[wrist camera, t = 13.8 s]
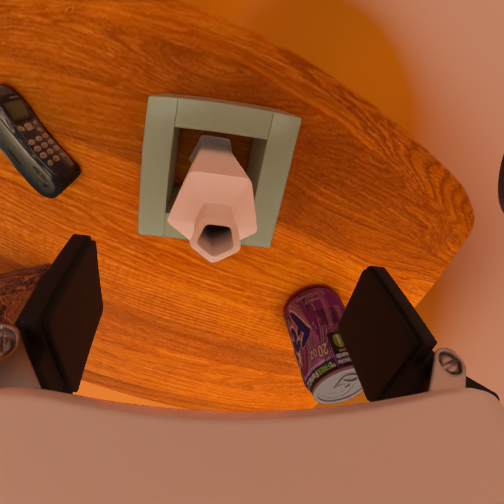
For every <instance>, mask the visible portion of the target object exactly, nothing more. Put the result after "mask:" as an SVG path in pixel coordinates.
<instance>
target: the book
mask: <svg viewBox="0 0 504 504" xmlns="http://www.w3.org/2000/svg"><path fill="white" fill-rule="evenodd" d="M50 267H51V264H45V265H41V266H36V267H32V268H27V269H23V270H19V271H14V272H10V273H6V274H1V275H0V322H7V323H10V324H13V325H14V323H15V321H16V319H17V318H18V316H19V314H20V312H21V311H22V309H23V307H24V306H25V304H26V302H27V300H28V299H29V297H30V296H31V294H32V292H33V291H34V289H35V287H36V286H37V284H38V283H39V281H40V280H41V278H42V277H43V275H44V274H45V273H46V271H48V270H49V268H50Z"/></svg>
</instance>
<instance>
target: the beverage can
mask: <svg viewBox="0 0 504 504" xmlns="http://www.w3.org/2000/svg"><path fill="white" fill-rule="evenodd" d="M344 311H345V307H344V305H343V303H342V301H341V299H340V297H339V296H338V294H337V293H336V292H334V291H333V290H330V289H327V288H314V289H310V290H307V291H304V292H302V293H300V294H299V295H297V296H296V297H295V298H294V299H293V300H291V302H290V303H289V304H288V306H287V308H286V310H285V314H284V318H285V322H286V325H287V328H288V332H289V335H290V338H291V342H292V345H293V348H294V352H295V355H296V358H297V362H298V365H299V368H300V371H301V375H302V378H303V381H304V384H305V386H306V388H307V389H308V390H309V391H310V392H312V395H313V398H314V400H315V401H317V402H319V403H324V404H325V403H326V404H330V403H337V402H341V401H344V400H347V399H349V398H351V397H353V396H355V395H357V394H358V393H360V392H361V391H363V388H362V386H361V383H360V381H359V379H358V376H357V374H356V371H355V369H354V366H353V364H352V362H351V359H350V357H349V355H348V352H347V350H346V347H345V345H344V343H343V340H342V338H341V336H340V334H339V331H338V323H339V321H340V319H341V317H342V315H343V313H344Z"/></svg>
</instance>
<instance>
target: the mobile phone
mask: <svg viewBox="0 0 504 504" xmlns="http://www.w3.org/2000/svg"><path fill="white" fill-rule="evenodd" d="M0 150H1V151H2V153H3V154H4V155H5V156H6V157H7V158H8V159H9V160H10V162H11V163H12V164H13V166H14V167H15V168H16V170H17V171H18V172H19V173H20V174H21V175H22V176H23V177H24V178H25V180H26V181H27V182H28V183H29V184H30V185H31V186H32V187H33V188H34V189H35V190H36V191H37V192H39V193H40V194H41V195H43V196H45V197H48V198H55V197H57V196H58V195H59V194H60V193H62V192H63V191H64V190H65V189H66V188H67V187H68V186H69V185H70V184H71V183H72V182H73V181H74V180H75V179H76V178H77V177H78V176H79V174H80V169H79V167H78V166H77V164H76V163H75V162H74V161H73V160H72V159H71V158H70V157H69V156H68V155H67V154H66V153H65V152H64V151H63V150H62V148H61V147H60V146H59V145H58V144H57V143H56V142H55V141H54V139H53V138H52V137H51V136H50V135H49V134H48V133H47V131H46V130H45V129H44V128H43V127H42V125H41V124H40V123H39V121H38V120H37V118H36V117H35V115H34V114H33V112H32V111H31V109H30V108H29V106H28V104H27V103H26V102H25V101H24V100H23V99H22V98H21V97H20V96H19V95H18V94H17V93H15V92H14V91H12V90H11V89H10V88H8V87H7V86H5V85H2V84H0Z"/></svg>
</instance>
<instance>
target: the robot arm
mask: <svg viewBox="0 0 504 504" xmlns="http://www.w3.org/2000/svg"><path fill="white" fill-rule="evenodd" d="M102 311H103V302H102V294H101V287H100V279H99V270H98V260H97V249H96V242H95V241H92V240H91V237H90V236H87V235H77V234H74V235H73V236H72V237H71V238H70V240H69V241H68V242H67V244H66V245H65V246H64V248H63V249H62V251H61V252H60V253H59V255H58V256H57V258H56V259H55V261H54V262H53V264H52V265H51V267H50V268H49V270H48V271H46V273H45V274H44V275H43V277H42V278H41V280H40V281H39V283H38V284H37V286H36V287H35V289H34V291H33V292H32V294H31V296H30V297H29V299H28V300H27V302H26V304H25V306H24V307H23V309H22V311H21V312H20V314H19V316H18V318H17V319H16V321H15V323H14V325H13V324H10V323H7V322H0V504H504V407H503V406H502V404H501V403H500V401H499V397H498V395H497V394H496V393H494V392H493V391H491V390H489V389H487V388H486V387H484V386H482V385H480V384H479V383H477V382H475V381H473V380H472V379H470V378H468V377H467V376H466V366H465V364H464V361H463V360H462V358H461V357H460V356H459V355H458V354H457V353H456V352H454V351H453V350H451V349H448V348H439V349H438V350H436V351H435V353H434V352H433V350H432V349H433V348H434V346H435V345H436V343H437V342H436V340H435V338H434V337H433V335H432V334H431V332H430V331H429V329H428V328H427V326H426V325H425V323H424V322H423V321H422V319H421V318H420V316H419V315H418V313H417V312H416V311H415V309H414V307H413V306H412V305H411V303H410V302H409V300H408V299H407V298H406V296H405V295H404V293H403V292H402V291H401V289H400V288H399V287H398V285H397V284H396V283H395V281H394V280H393V278H392V277H391V276H390V274H389V273H388V272H387V271H386V269H385V268H384V267H377V266H369V267H368V268H367V269H365V270H364V271H363V272H362V274H361V276H360V278H359V281H358V283H357V285H356V287H355V289H354V292H353V294H352V296H351V298H350V300H349V302H348V304H347V306H346V309H345V311H344V313H343V315H342V317H341V319H340V321H339V323H338V331H339V334H340V336H341V338H342V340H343V343H344V345H345V347H346V350H347V352H348V355H349V357H350V359H351V362H352V364H353V366H354V369H355V371H356V374H357V376H358V379H359V381H360V383H361V386H362V388H363V391H364V393H365V396H366V398H367V400H369V401H370V402H368V403H361V404H353V405H345V406H336V407H327V408H316V409H303V410H285V411H203V410H186V409H185V410H184V409H172V408H161V407H152V406H144V405H136V404H129V403H120V402H114V401H108V400H101V399H95V398H90V397H84V396H79V395H74V394H72V393H73V392H77V391H78V389H79V385H80V381H81V378H82V374H83V371H84V367H85V364H86V361H87V357H88V354H89V351H90V348H91V345H92V342H93V339H94V336H95V333H96V330H97V327H98V324H99V321H100V318H101V315H102Z"/></svg>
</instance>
